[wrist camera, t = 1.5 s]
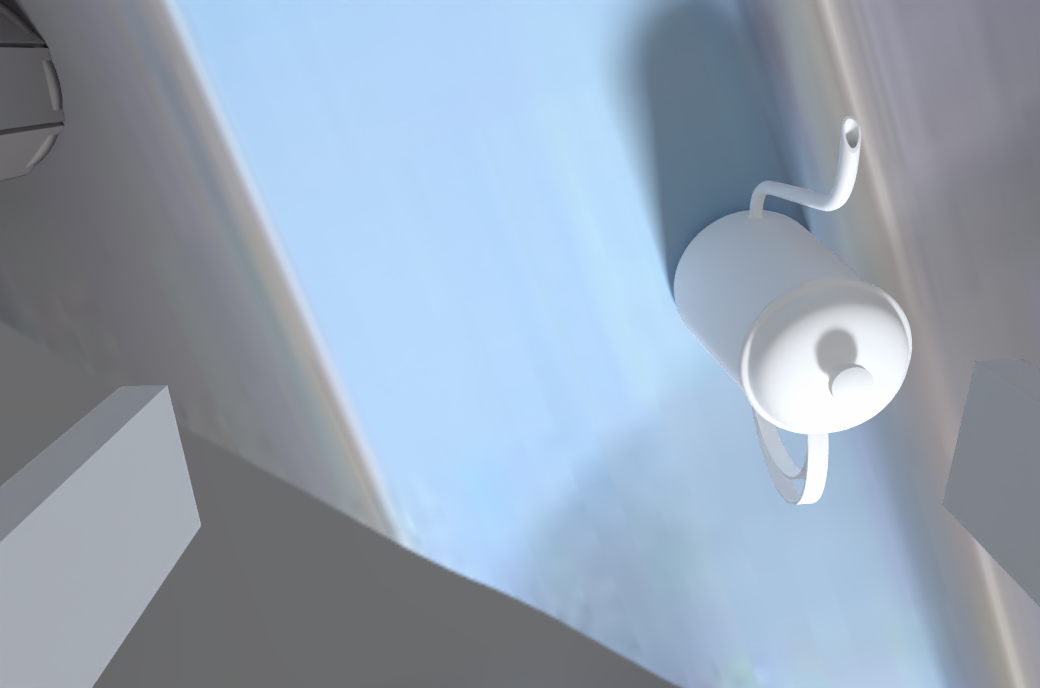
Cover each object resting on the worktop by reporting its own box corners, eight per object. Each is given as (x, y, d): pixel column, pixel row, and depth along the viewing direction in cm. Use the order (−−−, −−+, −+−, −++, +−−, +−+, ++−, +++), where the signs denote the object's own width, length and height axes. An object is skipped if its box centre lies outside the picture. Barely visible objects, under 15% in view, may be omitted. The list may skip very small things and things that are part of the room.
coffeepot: (825, 87, 48) (1000, 105, 31) (810, 413, 57) (937, 568, 40) (664, 106, 48) (747, 134, 31) (675, 426, 58) (744, 586, 40)
